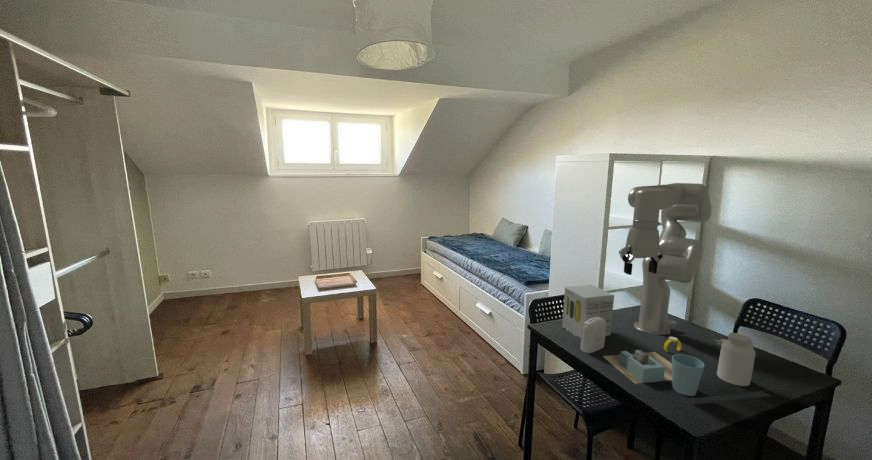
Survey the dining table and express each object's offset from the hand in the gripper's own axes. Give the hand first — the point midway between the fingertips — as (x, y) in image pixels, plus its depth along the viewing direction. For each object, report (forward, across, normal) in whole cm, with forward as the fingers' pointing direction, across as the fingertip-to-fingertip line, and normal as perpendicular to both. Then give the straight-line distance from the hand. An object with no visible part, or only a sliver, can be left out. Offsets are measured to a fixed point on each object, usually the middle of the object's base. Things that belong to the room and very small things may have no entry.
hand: (639, 273), depth 126 cm
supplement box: (+29, +10, -14) cm, 33 cm away
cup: (+28, +4, +27) cm, 39 cm away
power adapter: (+28, -32, +9) cm, 44 cm away
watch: (+28, -11, +6) cm, 31 cm away
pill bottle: (+28, -16, +24) cm, 41 cm away
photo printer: (+28, +16, 0) cm, 33 cm away
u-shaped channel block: (+27, +10, +18) cm, 34 cm away
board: (+28, +6, +14) cm, 32 cm away
